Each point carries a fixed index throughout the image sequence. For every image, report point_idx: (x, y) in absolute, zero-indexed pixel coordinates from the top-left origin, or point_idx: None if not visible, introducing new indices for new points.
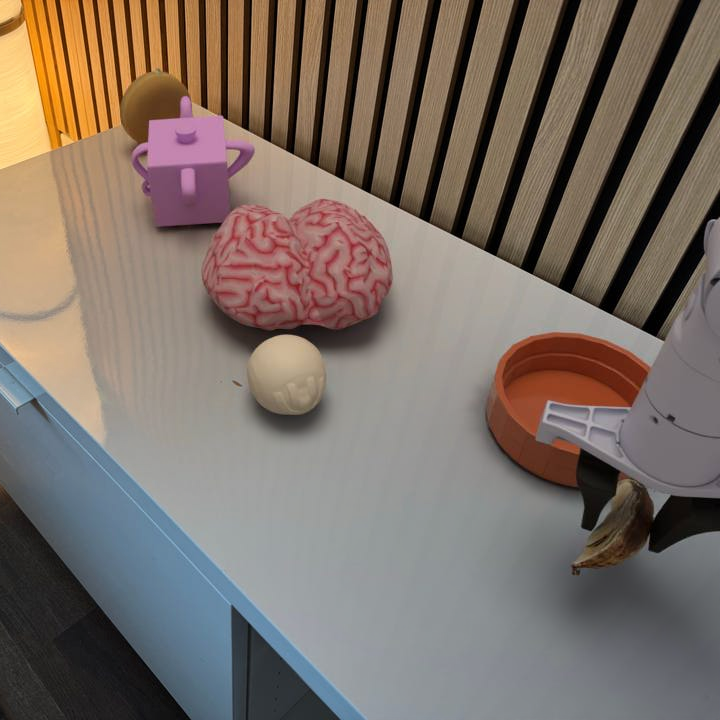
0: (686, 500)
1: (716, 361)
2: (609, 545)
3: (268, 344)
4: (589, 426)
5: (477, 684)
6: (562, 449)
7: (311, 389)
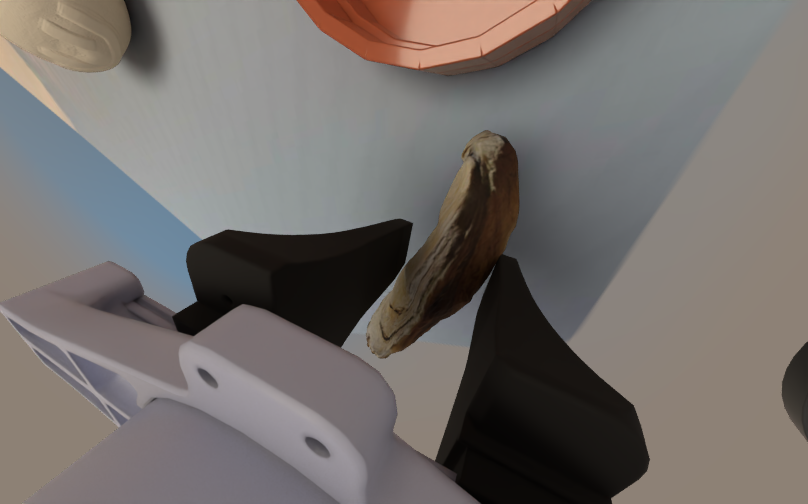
0: (446, 441)
1: None
2: (378, 357)
3: None
4: (102, 402)
5: (363, 318)
6: (379, 61)
7: (68, 40)
